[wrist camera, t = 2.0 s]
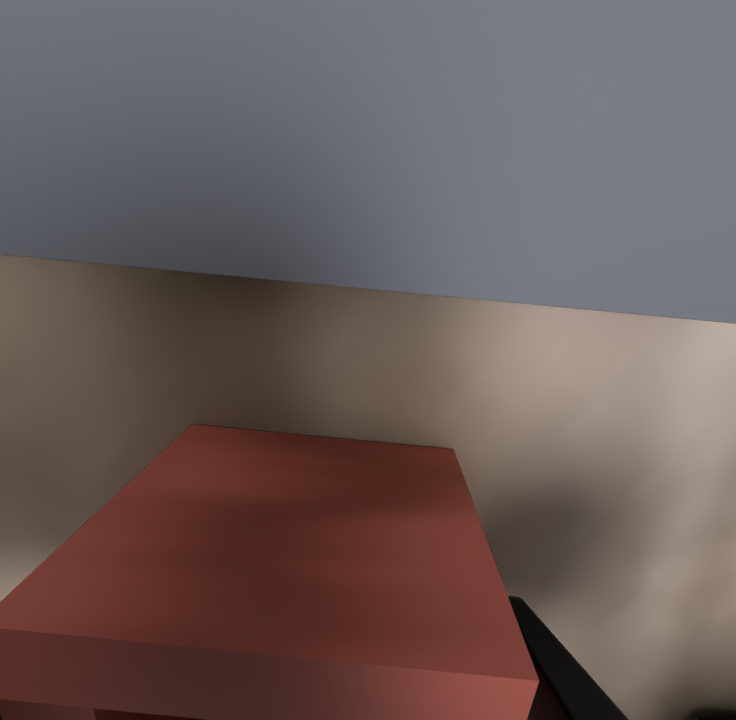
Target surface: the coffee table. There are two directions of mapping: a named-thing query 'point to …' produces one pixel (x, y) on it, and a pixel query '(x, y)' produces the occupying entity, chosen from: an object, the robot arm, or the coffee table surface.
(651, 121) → the flat gray board
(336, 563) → the red square tube
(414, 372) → the coffee table surface
